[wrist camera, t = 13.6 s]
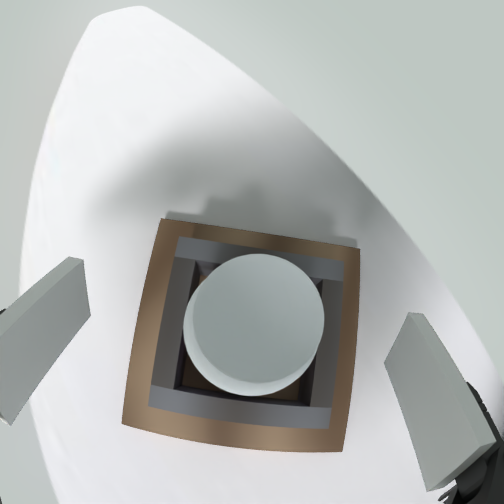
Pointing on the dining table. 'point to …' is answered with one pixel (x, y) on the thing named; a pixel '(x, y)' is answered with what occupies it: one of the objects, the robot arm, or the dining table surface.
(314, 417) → the square framed tray
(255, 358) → the pill bottle
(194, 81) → the dining table surface
